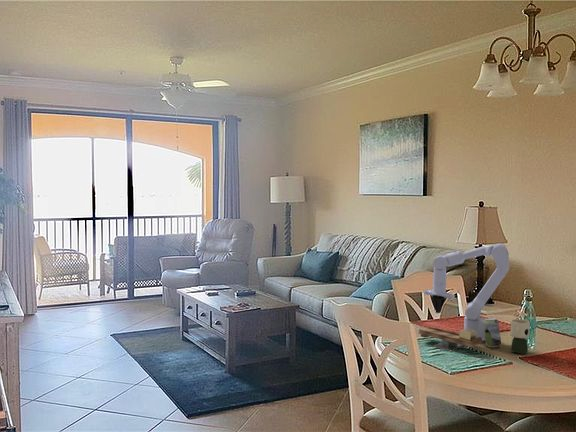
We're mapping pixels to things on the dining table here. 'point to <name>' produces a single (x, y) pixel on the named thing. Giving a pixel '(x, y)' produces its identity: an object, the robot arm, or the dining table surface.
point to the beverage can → (492, 332)
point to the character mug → (520, 335)
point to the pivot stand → (447, 345)
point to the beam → (448, 336)
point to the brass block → (467, 334)
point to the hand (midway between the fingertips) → (438, 312)
